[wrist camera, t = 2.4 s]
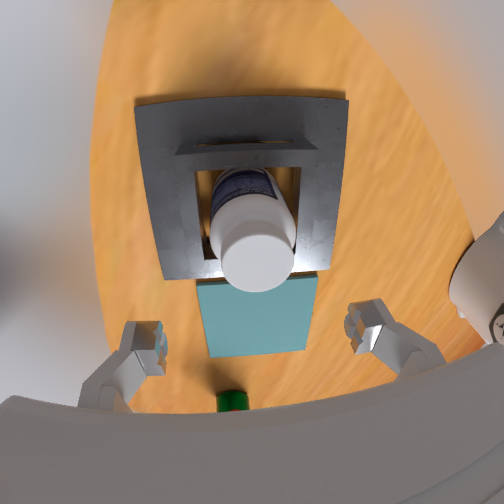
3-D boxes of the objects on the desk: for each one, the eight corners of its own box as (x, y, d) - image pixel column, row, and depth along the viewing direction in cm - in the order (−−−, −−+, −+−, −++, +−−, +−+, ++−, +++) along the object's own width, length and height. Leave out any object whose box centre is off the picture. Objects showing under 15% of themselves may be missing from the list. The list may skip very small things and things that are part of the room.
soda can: (210, 394, 41) (211, 464, 31) (238, 385, 40) (244, 459, 30) (227, 405, 44) (231, 470, 34) (253, 397, 43) (261, 465, 33)
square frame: (345, 99, 20) (368, 106, 16) (327, 265, 29) (339, 292, 25) (136, 106, 19) (118, 113, 15) (165, 276, 28) (159, 305, 24)
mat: (316, 274, 29) (318, 277, 29) (304, 346, 36) (305, 349, 36) (196, 282, 28) (196, 285, 28) (210, 354, 35) (210, 357, 35)
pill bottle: (198, 196, 23) (186, 269, 15) (243, 148, 22) (257, 199, 13) (246, 233, 26) (258, 314, 18) (291, 191, 24) (326, 260, 16)
